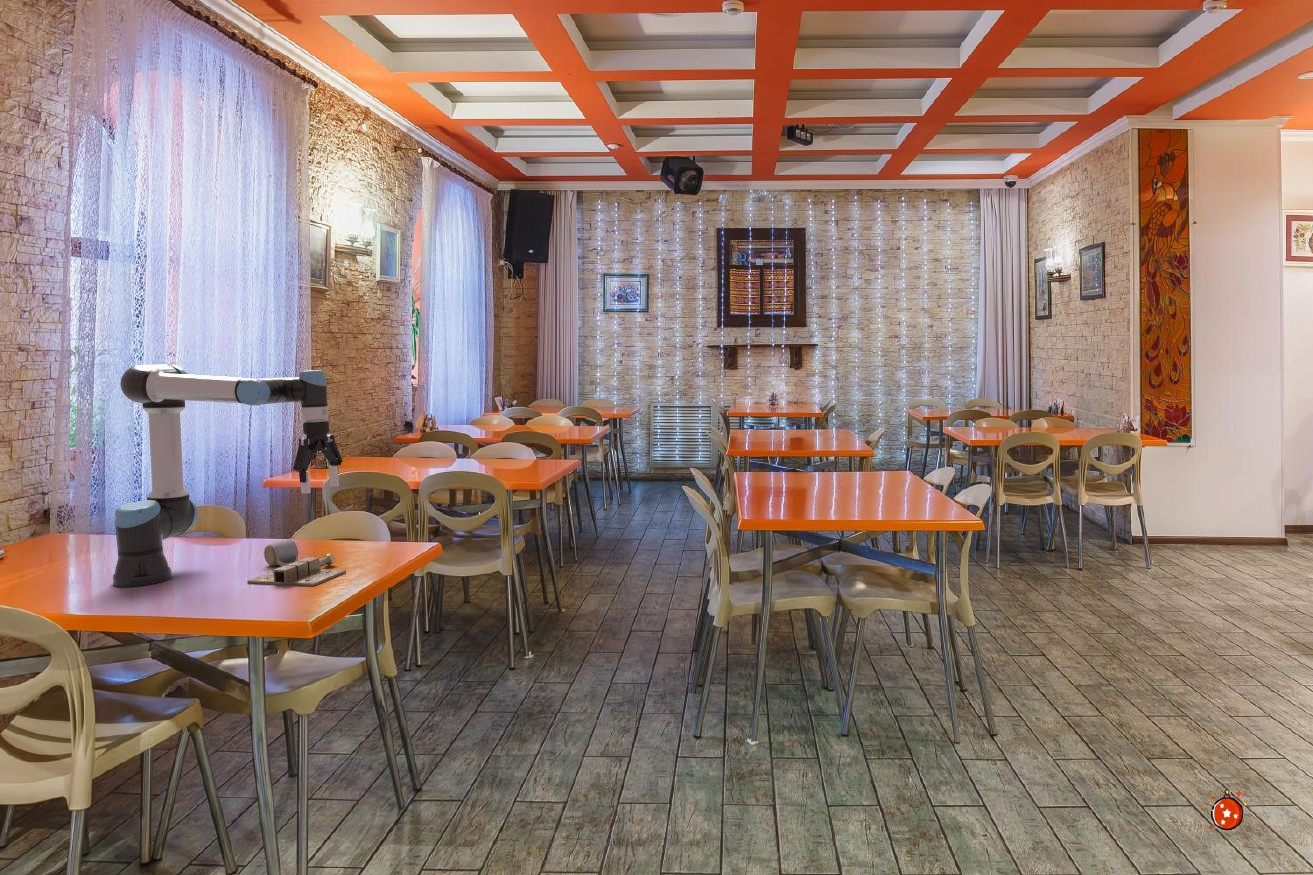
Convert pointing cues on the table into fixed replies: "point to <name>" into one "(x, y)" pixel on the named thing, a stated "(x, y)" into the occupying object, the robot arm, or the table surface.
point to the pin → (327, 560)
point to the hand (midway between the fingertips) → (320, 489)
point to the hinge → (298, 574)
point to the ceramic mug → (281, 553)
